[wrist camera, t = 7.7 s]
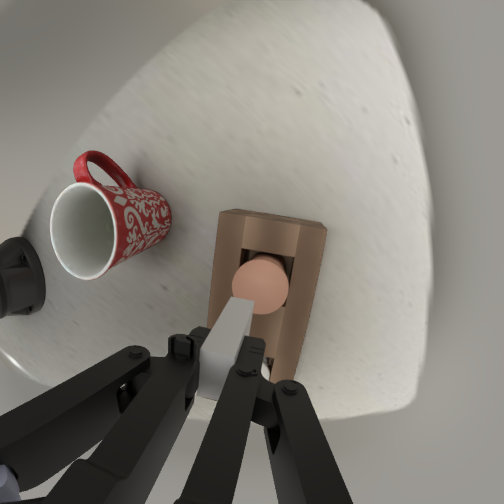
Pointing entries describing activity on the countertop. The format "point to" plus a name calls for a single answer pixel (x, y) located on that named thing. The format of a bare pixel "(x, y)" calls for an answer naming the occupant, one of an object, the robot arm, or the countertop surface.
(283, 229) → the walnut block
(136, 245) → the mug
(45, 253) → the countertop surface
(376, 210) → the countertop surface
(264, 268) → the terracotta plug
